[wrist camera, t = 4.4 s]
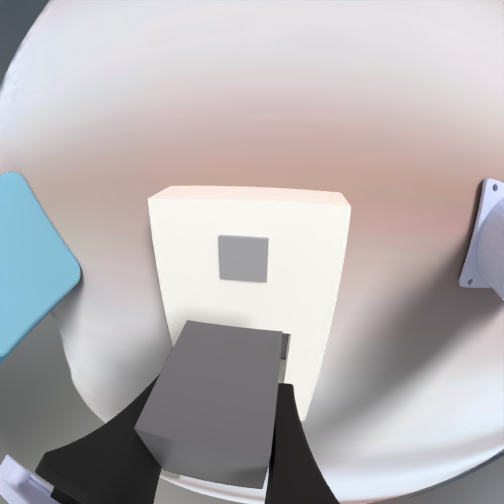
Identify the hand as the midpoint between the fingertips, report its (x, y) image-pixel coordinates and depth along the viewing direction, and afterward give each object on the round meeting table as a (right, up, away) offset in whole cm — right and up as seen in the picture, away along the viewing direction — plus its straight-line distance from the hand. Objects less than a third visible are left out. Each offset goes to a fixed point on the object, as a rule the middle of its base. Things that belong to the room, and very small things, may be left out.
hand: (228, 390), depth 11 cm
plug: (0, +1, +1) cm, 2 cm away
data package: (-18, +8, +9) cm, 21 cm away
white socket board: (+1, +1, +9) cm, 9 cm away
